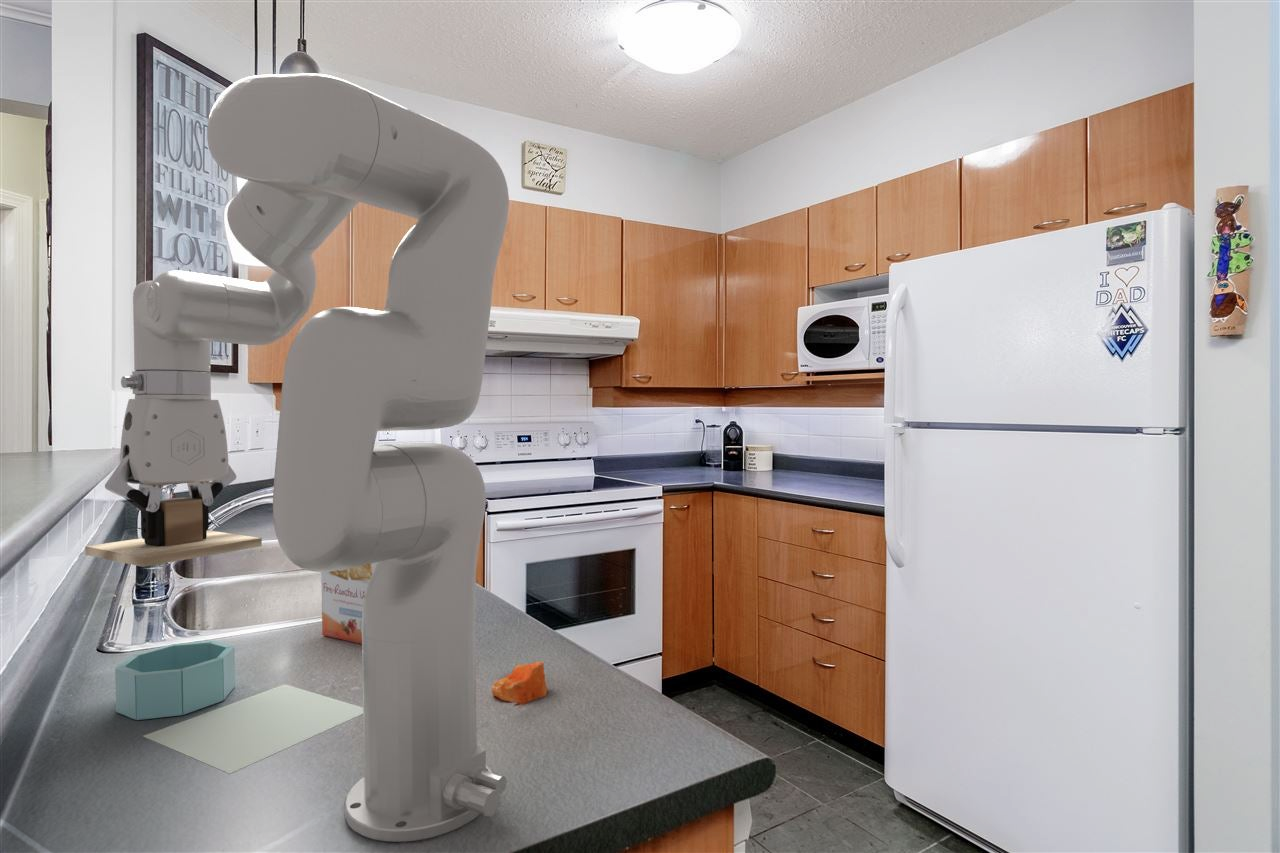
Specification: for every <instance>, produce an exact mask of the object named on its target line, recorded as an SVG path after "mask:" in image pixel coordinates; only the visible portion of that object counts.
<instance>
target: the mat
mask: <svg viewBox="0 0 1280 853" xmlns="http://www.w3.org/2000/svg"><path fill="white" fill-rule="evenodd" d="M360 716H363V706H359V705H356V704H353V703H352V704H351V703H349V702H345V701H342V700H340V699H335V698H332V697H329V696H325V695H323V694H318V693H315V692H312V691H309V690H305V689H302V688H299V687H295V686H293V685H290V684H289V685H288V684H285V683H283V684H281V685H279V686H276V687H273V688H270V689H268V690H265V691H262V692H259V693H257V694H253V695H252V696H248V697H246V698H243V699H240V700H238V701H234V702H231V703H229V704H227V705H224V706H221V707H219V708H216V709H212V710H210V711H208V712H205V713H202V714H199V715H197V716H194V717H191V718H188V719H185V720H184V721H180V722H177V723H175V724H172V725H169V726H166V727H164V728H161V729H158V730H155V731H153V732H150V733H147V734H143V735H142V737H143V738H146V739H148V740H150V741H153V742H155V743H156V744H159V745H162V746H163V747H166V748H169V749H171V750H172V751H173V750H174V751H176V752H177V753H180V754H183V755H185V756H188V757H190V758H192V759H193V760H196V761H199V762H201V763H203V764H206V765H208V766H211V767H213V768H214V769H217V770H219V771H222V772H223V773H227V774H229V775H231V774H233V773H236V772H238V771H240V770H242V769H244V768H247V767H250V766H252V765H253V764H255V763H258V762H260V761H262V760H264V759H267V758H268V757H271V756H273V755H276V754H278V753H280V752H283V751H284V750H287V749H289V748H291V747H293V746H295V745H298V744H300V743H302V742H305V741H306V740H308V739H310V738H313V737H315V736H317V735H318V736H319V735H320V734H322V733H324V732H327V731H329V730H331V729H333V728H335V727H337V726H339V725H341V724H344V723H346V722H348V721H349V722H350V720H353V719H355V718H357V717H360Z"/></svg>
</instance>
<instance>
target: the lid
mask: <svg viewBox="0 0 1280 853" xmlns="http://www.w3.org/2000/svg"><path fill="white" fill-rule="evenodd" d="M159 511H163V513H164V544H163V545H162V546H153V545H147V544H145V541H144V539H143V538H142V537H140V538H133V539H127V540H120V541H114V542H106V543H99V544H92V545H85V550H84V551H85V555H86V556H90V557H94V558H98V559H104V560H108V561H113V562H116V563H117V562H118V563H123V564H128V565H132V566H136V567H142V568H146V567H149V566H150V567H151V566H157V565H162V564H168V563H172V562H180V561H185V560H191V559H197V558H202V557H207V556H213V555H219V554H225V553H231V552H232V553H233V552H237V551H242V550H247V549H253V548H258V547H259V548H261V547H262V545H263V544H262V537H257V536H252V535H251V536H249V535H243V534H236V533H229V532H222V531H216V530H215V531H214V530H209V529H208V530H207V537H206V539H203V513H202V499H194V498H190V497H185V496H184V497H175V498H167V499H165V498H164V499H160V505H159Z"/></svg>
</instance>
